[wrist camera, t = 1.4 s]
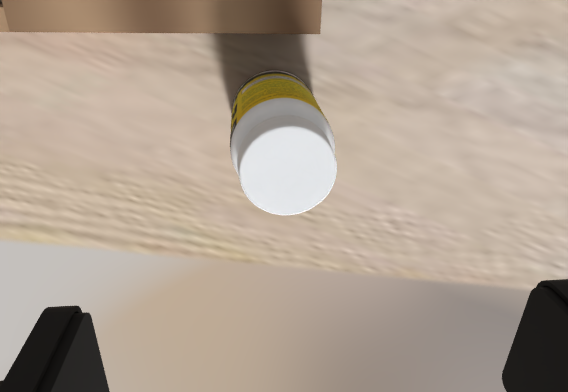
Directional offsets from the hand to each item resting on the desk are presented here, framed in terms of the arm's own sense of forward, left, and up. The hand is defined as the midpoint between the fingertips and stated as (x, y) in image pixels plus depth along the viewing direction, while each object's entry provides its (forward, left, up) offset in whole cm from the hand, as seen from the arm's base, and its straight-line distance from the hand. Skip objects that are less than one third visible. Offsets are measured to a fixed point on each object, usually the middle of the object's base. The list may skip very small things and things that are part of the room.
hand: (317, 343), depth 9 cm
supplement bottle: (0, 0, -18) cm, 18 cm away
